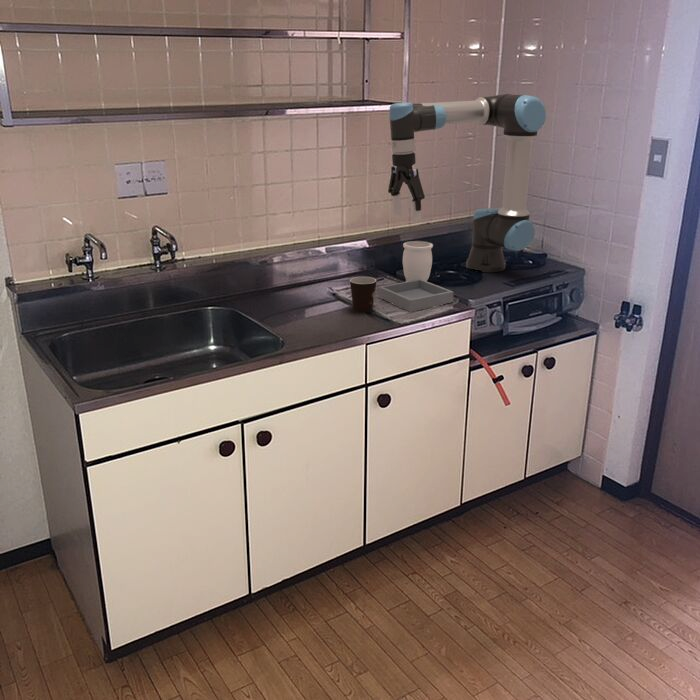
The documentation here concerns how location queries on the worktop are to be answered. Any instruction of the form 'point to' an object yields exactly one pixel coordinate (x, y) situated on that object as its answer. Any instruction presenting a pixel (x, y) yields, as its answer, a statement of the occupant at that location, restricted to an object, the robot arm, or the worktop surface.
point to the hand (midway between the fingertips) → (407, 217)
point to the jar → (417, 260)
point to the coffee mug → (363, 293)
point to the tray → (415, 295)
